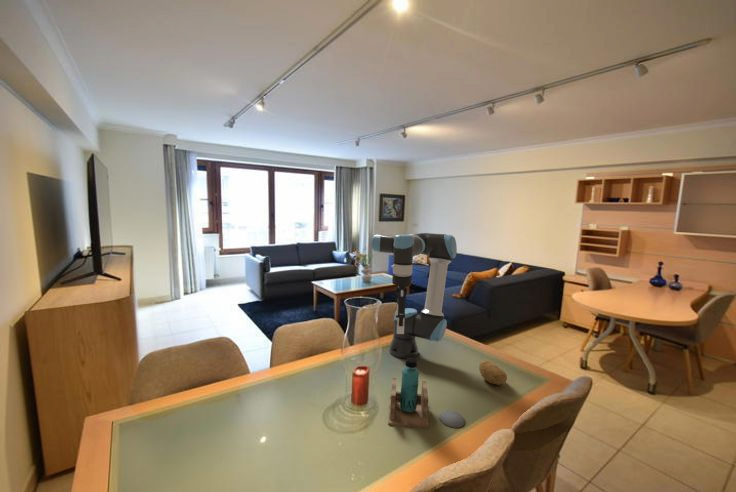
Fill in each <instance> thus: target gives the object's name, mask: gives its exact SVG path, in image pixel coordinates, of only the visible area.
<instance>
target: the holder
mask: <svg viewBox="0 0 736 492" xmlns="http://www.w3.org/2000/svg"><path fill="white" fill-rule="evenodd" d="M391 382H392V383H391V393H390V397H389V408H388V409H389V410H388V422H387V423H388V426H399V427H405V428H412V429H413V428H414V429H415V428H416V429H421V430H429V420H428V412H429V411H428V410H429V394H428V393H429V392H428V385H427V384H428V383H427V381H426V380H422V381H421V393H417V407H416V410H415V411H413V412H406V411H403V410H402V409H401V407H400V396H401V391H397V377H392V379H391Z"/></svg>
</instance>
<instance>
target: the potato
mask: <svg viewBox="0 0 736 492" xmlns="http://www.w3.org/2000/svg"><path fill="white" fill-rule="evenodd" d="M478 366H479V367H478V369H479V373H480V375H481V377H482V378H483V379H484V380H486V382H488V383H490V384H492V385H498V386H499V385H500V386H501V385H502V384H505V383H506V382H507V380H508V375H507V373H506V371H504V369H502V368H501V367H500V366H499V365H497V364H496V363H494V362H492V361H490V360H486V359H484V360H482V361H480V362H479V365H478Z"/></svg>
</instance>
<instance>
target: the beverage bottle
mask: <svg viewBox="0 0 736 492" xmlns="http://www.w3.org/2000/svg"><path fill="white" fill-rule="evenodd" d="M417 365H418V363H417V359H416V358H414V357H413V358H405V367H404V368H402V369H401V370H402V371H401V385H400V387H401V388H400V392H401V396H400V407H401V409H402V410H403V411H406V412H413V411H415V410H416V407H417V394H419V393H418V391H419V383H420V382H419V377H420V376H419V375H420V372H419V370H418V369H417Z"/></svg>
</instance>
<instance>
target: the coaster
mask: <svg viewBox="0 0 736 492" xmlns="http://www.w3.org/2000/svg"><path fill="white" fill-rule="evenodd" d="M438 415H439V421H440V422H441V423H442V424H443V425H444V426H447V427H449V428H455V429H456V428H461V427H463V426H464V425H465V421H466V420H465V417H464V415H462V414H461V413H459V412H458V411H455V410H448V409H447V410H443V411H441V412H440V413H439V414H438Z"/></svg>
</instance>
